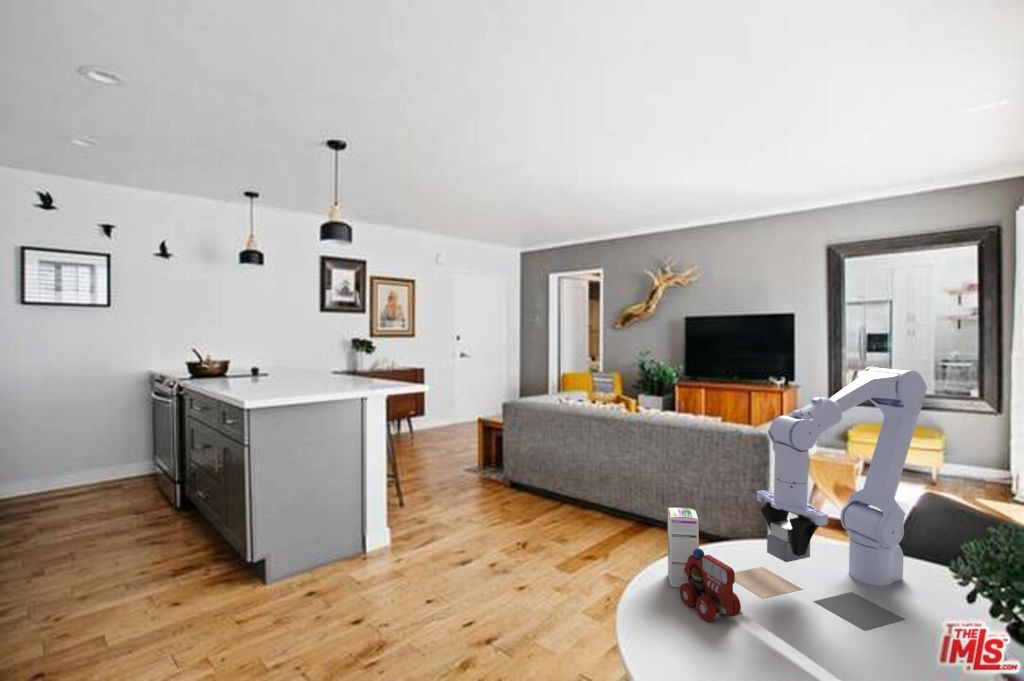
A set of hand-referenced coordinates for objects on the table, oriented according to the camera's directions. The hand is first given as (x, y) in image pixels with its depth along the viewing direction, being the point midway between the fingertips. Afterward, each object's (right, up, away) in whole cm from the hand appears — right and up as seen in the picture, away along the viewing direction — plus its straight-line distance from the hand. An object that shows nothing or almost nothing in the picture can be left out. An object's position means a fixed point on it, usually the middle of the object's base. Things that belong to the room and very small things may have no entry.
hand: (789, 549), depth 104 cm
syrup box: (-18, -9, +6) cm, 22 cm away
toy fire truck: (-17, -10, -4) cm, 20 cm away
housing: (0, -1, 0) cm, 1 cm away
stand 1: (-4, -9, +3) cm, 11 cm away
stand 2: (+9, -10, -7) cm, 15 cm away
